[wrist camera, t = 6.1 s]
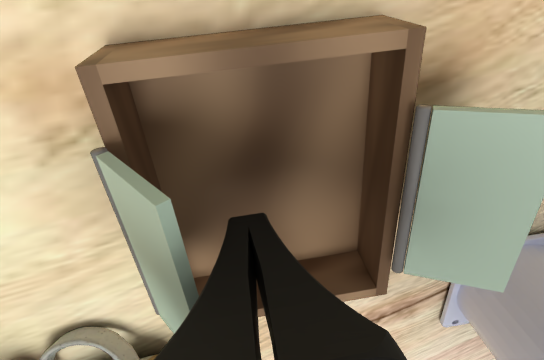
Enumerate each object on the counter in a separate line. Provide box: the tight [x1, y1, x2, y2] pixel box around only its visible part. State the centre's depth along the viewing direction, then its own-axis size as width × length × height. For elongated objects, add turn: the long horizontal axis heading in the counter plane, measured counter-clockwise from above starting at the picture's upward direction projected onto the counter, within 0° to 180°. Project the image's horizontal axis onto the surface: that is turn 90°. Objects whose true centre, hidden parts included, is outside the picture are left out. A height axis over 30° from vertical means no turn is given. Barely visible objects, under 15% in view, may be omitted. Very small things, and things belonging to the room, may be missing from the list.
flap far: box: [392, 105, 544, 293], centre depth 13 cm, size 8×4×1 cm, turn 5°
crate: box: [75, 15, 426, 317], centre depth 16 cm, size 11×13×3 cm
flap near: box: [90, 147, 199, 333], centre depth 12 cm, size 8×4×1 cm
